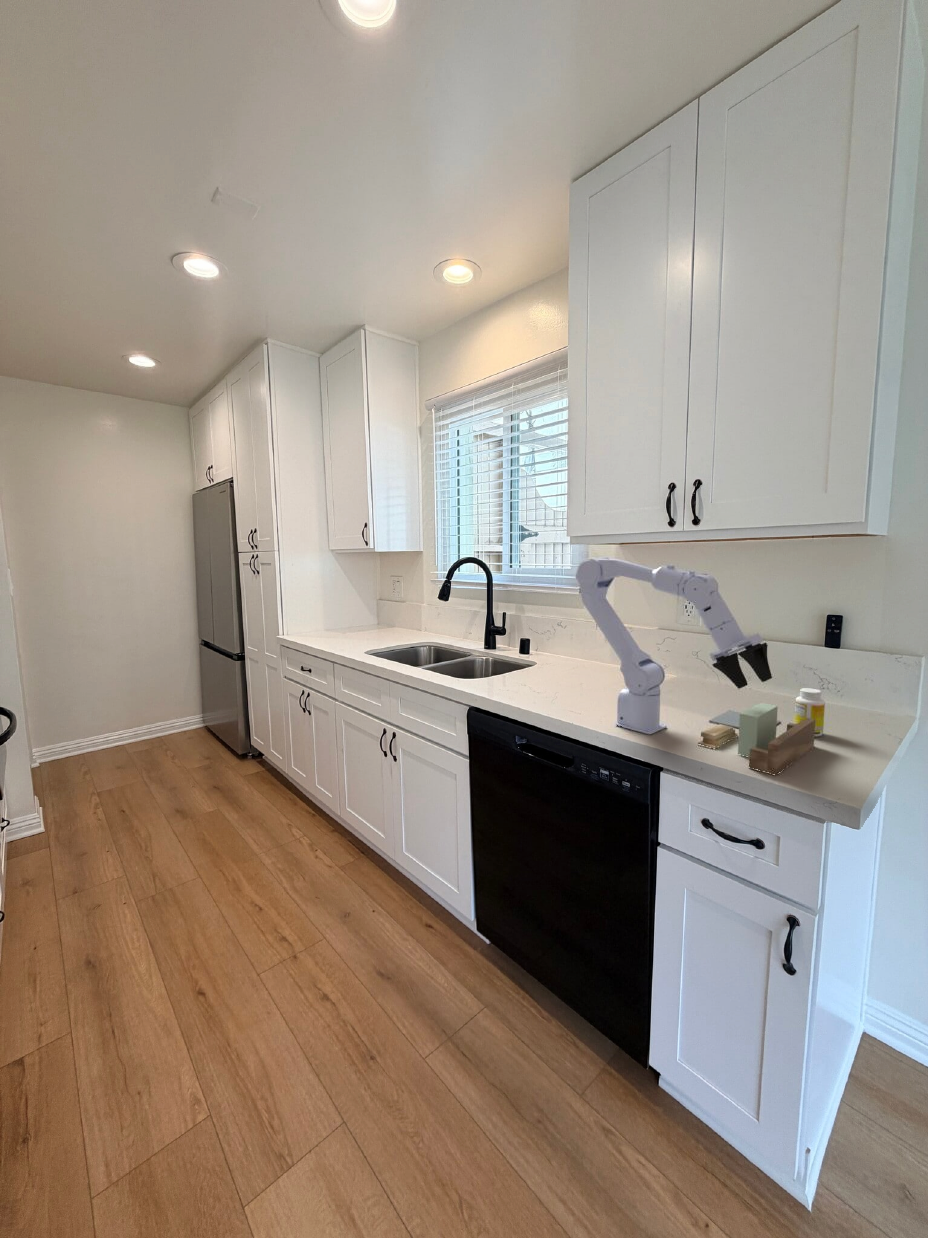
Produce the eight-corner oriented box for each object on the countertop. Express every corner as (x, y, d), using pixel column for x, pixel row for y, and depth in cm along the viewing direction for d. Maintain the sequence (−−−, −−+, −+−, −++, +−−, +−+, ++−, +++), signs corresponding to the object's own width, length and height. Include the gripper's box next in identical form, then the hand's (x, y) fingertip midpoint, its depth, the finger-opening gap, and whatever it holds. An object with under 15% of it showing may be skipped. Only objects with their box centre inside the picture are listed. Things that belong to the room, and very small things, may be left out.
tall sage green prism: (737, 755, 106) (739, 713, 105) (758, 742, 113) (760, 702, 112) (755, 760, 103) (757, 717, 102) (775, 746, 110) (777, 705, 109)
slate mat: (708, 722, 127) (709, 720, 126) (729, 711, 134) (729, 710, 134) (761, 734, 117) (761, 732, 117) (780, 722, 125) (780, 720, 125)
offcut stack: (697, 747, 112) (697, 733, 111) (720, 733, 120) (721, 721, 119) (715, 751, 109) (715, 738, 109) (738, 738, 117) (738, 725, 116)
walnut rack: (748, 768, 99) (750, 738, 98) (788, 740, 113) (790, 714, 113) (776, 776, 96) (777, 745, 95) (813, 746, 110) (815, 719, 109)
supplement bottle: (824, 732, 117) (827, 689, 116) (820, 739, 113) (823, 694, 112) (796, 727, 121) (798, 685, 120) (791, 734, 117) (793, 690, 116)
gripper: (758, 608, 103) (795, 669, 100) (716, 628, 117) (747, 683, 114) (731, 619, 102) (767, 682, 98) (691, 639, 115) (722, 694, 112)
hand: (754, 683), depth 106 cm, fingers open, 7 cm apart
